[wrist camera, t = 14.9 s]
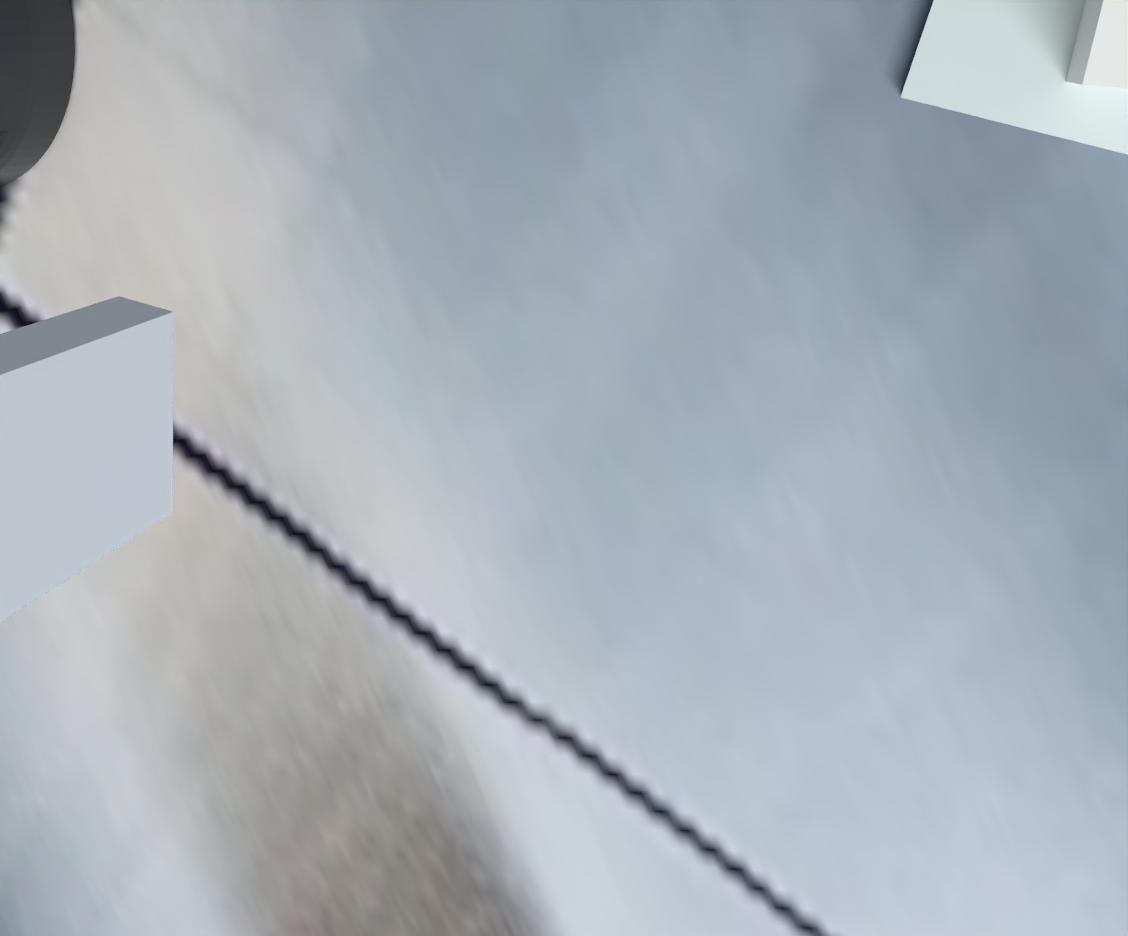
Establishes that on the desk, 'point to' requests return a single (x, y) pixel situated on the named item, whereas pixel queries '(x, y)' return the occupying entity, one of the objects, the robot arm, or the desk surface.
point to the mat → (1014, 69)
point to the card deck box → (1101, 45)
